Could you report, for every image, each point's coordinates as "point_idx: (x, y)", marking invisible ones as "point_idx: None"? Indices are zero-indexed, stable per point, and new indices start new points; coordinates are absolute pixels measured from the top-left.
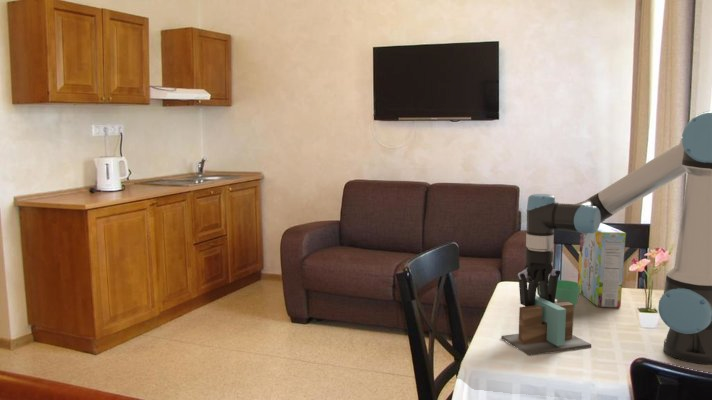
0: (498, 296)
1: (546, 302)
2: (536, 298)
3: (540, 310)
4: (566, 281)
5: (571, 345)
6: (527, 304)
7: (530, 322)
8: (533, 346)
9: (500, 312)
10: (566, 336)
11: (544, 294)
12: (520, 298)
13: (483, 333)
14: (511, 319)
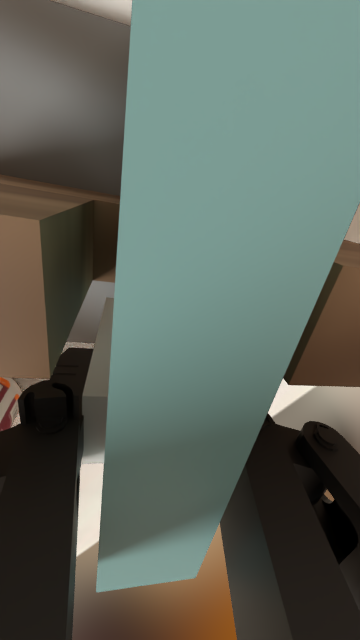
0: None
1: (217, 358)
2: (184, 526)
3: (340, 259)
4: None
5: (60, 40)
6: (327, 439)
7: (354, 246)
8: None
9: (90, 522)
10: (11, 177)
11: (66, 612)
12: (346, 537)
13: (282, 403)
14: (98, 476)
